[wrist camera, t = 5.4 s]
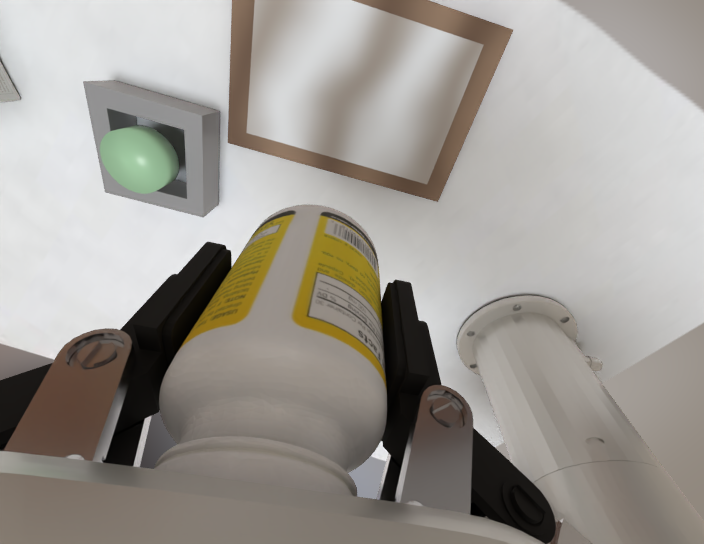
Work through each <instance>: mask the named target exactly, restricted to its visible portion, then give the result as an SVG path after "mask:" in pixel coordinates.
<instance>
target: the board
mask: <svg viewBox="0 0 704 544" xmlns="http://www.w3.org/2000/svg"><path fill="white" fill-rule="evenodd" d="M512 32H513V30H512V29H509V28H506V27H503V26H500V25H498V24H495V23H492V22H489V21H486V20H483V19H480V18H477V17H474V16H472V15H469V14H466V13H463V12H460V11H457V10H454V9H451V8H448V7H446V6H443V5H440V4H437V3H434V2H431V1H428V0H232V21H231V54H230V87H229V120H228V143H230V144H234V145H237V146H241V147H245V148H248V149H252V150H255V151H259V152H262V153H266V154H269V155H273V156H277V157H280V158H284V159H287V160H291V161H294V162H298V163H302V164H305V165H309V166H312V167H316V168H319V169H323V170H326V171H330V172H334V173H337V174H341V175H344V176H348V177H351V178H355V179H358V180H362V181H366V182H369V183H373V184H376V185H380V186H383V187H387V188H391V189H394V190H398V191H401V192H405V193H408V194H412V195H415V196H419V197H423V198H426V199H430V200H433V201H437V202H438V200H439V198H440V195H441V193H442V191H443V189H444V186H445V184H446V182H447V180H448V177H449V175H450V173H451V170H452V168H453V166H454V164H455V161H456V159H457V157H458V155H459V152H460V150H461V148H462V145H463V143H464V141H465V139H466V136H467V134H468V132H469V130H470V127H471V125H472V123H473V120H474V118H475V116H476V114H477V111H478V109H479V107H480V104H481V102H482V100H483V98H484V95H485V93H486V91H487V89H488V86H489V84H490V82H491V79H492V77H493V75H494V73H495V70H496V68H497V66H498V64H499V61H500V59H501V57H502V54H503V52H504V50H505V48H506V45H507V43H508V41H509V39H510V36H511V34H512Z"/></svg>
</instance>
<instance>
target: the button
mask: <svg viewBox="0 0 704 544" xmlns="http://www.w3.org/2000/svg"><path fill="white" fill-rule="evenodd" d="M100 155H101V159H102V162H103V164H104V166H105V168H106V170H107V171H108V172H109V174H110V175H111V176H112V177H113V178H114V179H115V180H116V181H117V182H118V183H119V184H120V185H122V186H123V187H125V188H127V189H128V190H131V191H133V192H136V193H141V194H148V193H152V192H155V191H157V190H159V189H160V188H162V187H164V186H166V185H168V184H169V183H171V182H173V181H174V180H175V178H176V177H177V175H178V172H179V160H178V156H177V154H176V151H175V149H174V148H173V146H172V145H171V143H170V142H169V141H168V140H167V139H166V138H165V137H164V136H163V135H162V134H161V133H159V132H158V131H156V130H154V129H152V128H150V127H147V126H142V125H135V126H131V127H126V128H122V129H117V130H113V131H110V132H108V133H107V134H106V135H105V136H104V137H103V139H102V141H101V143H100Z"/></svg>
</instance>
